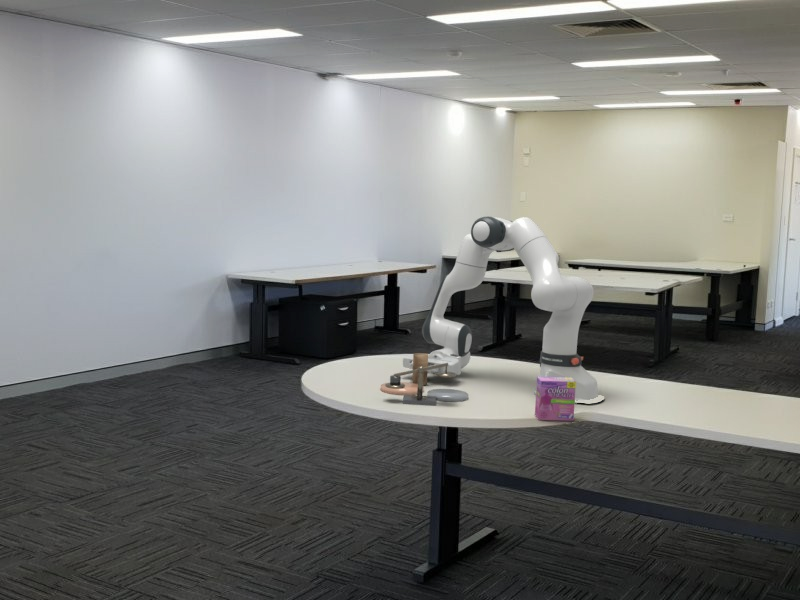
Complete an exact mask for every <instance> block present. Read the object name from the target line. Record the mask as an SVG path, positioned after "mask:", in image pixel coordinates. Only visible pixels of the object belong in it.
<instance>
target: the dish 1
mask: <svg viewBox="0 0 800 600" xmlns="http://www.w3.org/2000/svg"><path fill="white" fill-rule="evenodd" d="M386 383H387V382H385V383H383V384H380V391H381V392H383V393H385V394H389V395H395V396H396V395H398V396H404V395H417V388H418V384H415V383H412V382H407V381H406V382H405V381H400V383H402V384H405V388H401V389H392V388H387V387H385V384H386ZM424 389H425V388H424V386H423V393H424V391H425V390H424Z"/></svg>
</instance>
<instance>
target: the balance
mask: <svg viewBox="0 0 800 600" xmlns="http://www.w3.org/2000/svg"><path fill="white" fill-rule="evenodd" d="M445 366H446V367H445ZM447 366H448V363H443V364H439V365H434V366H429V367H425V368H424V367H422V366H420V367H418V369H415V370H413V369H410V370H406V371H402V372H397V373H393V374H392V375H390V376H389V382H385V383H386V384H385V387H387V388H392V389H401V388H405V384H402V383H400V382H402V380H401V378H402V376H405V375H410V374H412V375H413V373H416V372H418V388H417V394H416V395H403V396H402V397H403V399H402V404H403V405H420V406H421V405H422V406H424V405H425V406H437V405H436V403H437V400H436V396H427V395H423V393H424V392H423V387H424V385H423V372H424V371H426V370H430V369H435V368H440V367H445V372H437V373H436V375H435V376H436V377H439V378H456V376H457V375H456V374H455V373H453V372H447Z"/></svg>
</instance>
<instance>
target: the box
mask: <svg viewBox="0 0 800 600" xmlns="http://www.w3.org/2000/svg"><path fill="white" fill-rule="evenodd" d="M535 390H536V394H535V407H534V408H535V409H534V416H535V415H536V416H535V418H536V417H537V418H538V419H537V418H536V419H537V421H558V422H559V421H560V422H561V421H563V422H565V421H569V422H574V421H575V407H576V406H575V404H576V403H575V390H576V381H575V380H574V379H573V378H564V377H539V376H537V377H536V387H535Z"/></svg>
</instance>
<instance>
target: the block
mask: <svg viewBox="0 0 800 600" xmlns="http://www.w3.org/2000/svg"><path fill="white" fill-rule="evenodd" d="M412 356H413V369H412V370H415V369H418V367H420V366H422V367H424V368H425V367H426V366H428V356H429V354H428V353H422V352H417V353H413V354H412ZM411 380H412V381H411V383H415V384H418V372H416V373H412V378H411ZM427 384H428V372H427V371H424V372H423V386H426V385H427Z"/></svg>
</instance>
